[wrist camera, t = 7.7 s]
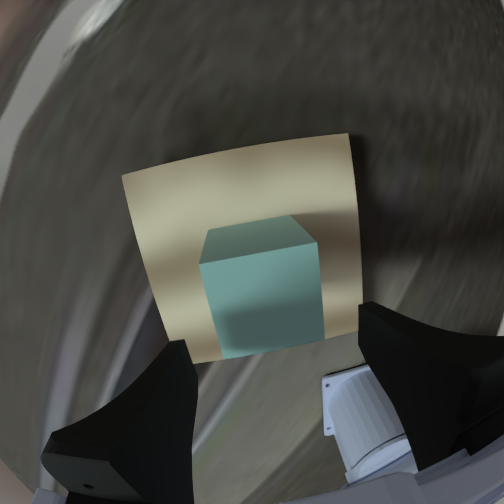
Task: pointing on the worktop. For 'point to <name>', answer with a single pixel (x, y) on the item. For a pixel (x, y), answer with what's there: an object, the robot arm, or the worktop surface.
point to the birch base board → (242, 211)
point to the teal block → (263, 286)
